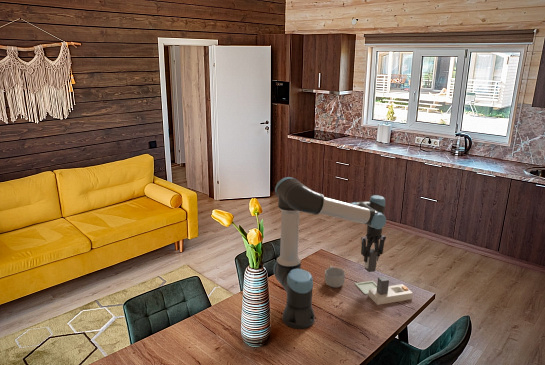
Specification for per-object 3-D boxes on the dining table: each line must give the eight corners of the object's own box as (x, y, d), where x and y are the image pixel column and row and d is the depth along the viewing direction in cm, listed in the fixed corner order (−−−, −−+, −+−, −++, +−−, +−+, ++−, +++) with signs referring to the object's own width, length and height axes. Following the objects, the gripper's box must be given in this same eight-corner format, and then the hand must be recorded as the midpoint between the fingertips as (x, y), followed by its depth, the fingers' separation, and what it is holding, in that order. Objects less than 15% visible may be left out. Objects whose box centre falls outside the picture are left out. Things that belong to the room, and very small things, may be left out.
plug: (368, 272, 223) (370, 252, 220) (364, 268, 226) (366, 249, 223) (375, 271, 224) (377, 252, 221) (371, 267, 227) (373, 248, 224)
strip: (377, 305, 213) (379, 284, 210) (368, 296, 221) (370, 275, 218) (411, 299, 219) (414, 279, 215) (401, 290, 227) (404, 270, 224)
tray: (364, 295, 222) (364, 293, 222) (354, 284, 232) (355, 283, 232) (383, 292, 225) (383, 290, 225) (372, 282, 235) (373, 280, 235)
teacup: (345, 290, 226) (346, 276, 224) (324, 289, 226) (325, 276, 224) (341, 277, 240) (342, 264, 237) (322, 276, 240) (323, 263, 237)
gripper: (363, 229, 212) (359, 272, 219) (393, 227, 217) (388, 268, 224) (356, 224, 219) (352, 265, 225) (385, 221, 224) (380, 262, 230)
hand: (370, 266), depth 224 cm, fingers closed on plug, 4 cm apart
